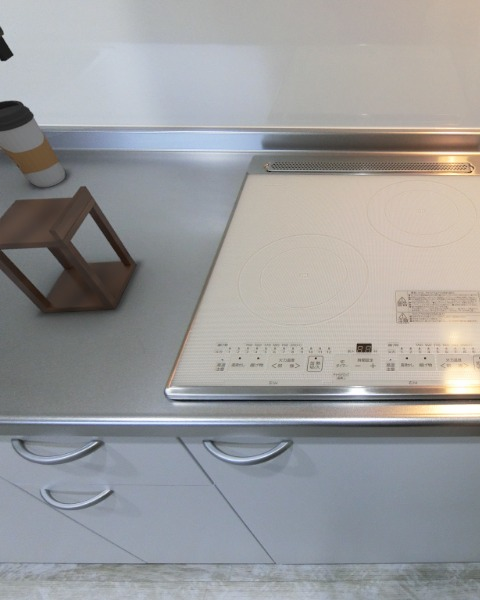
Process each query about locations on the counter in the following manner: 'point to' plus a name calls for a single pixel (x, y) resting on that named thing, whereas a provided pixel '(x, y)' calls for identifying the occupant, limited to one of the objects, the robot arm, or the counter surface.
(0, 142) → the coffee cup
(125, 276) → the shelf
